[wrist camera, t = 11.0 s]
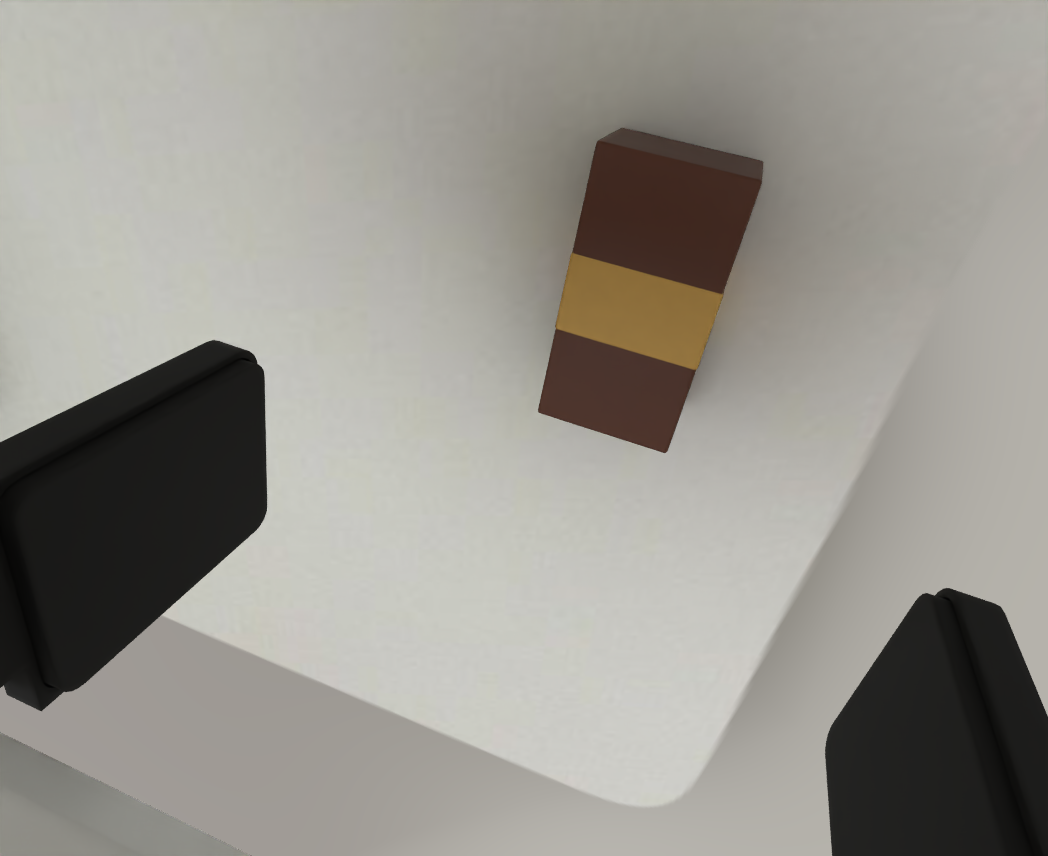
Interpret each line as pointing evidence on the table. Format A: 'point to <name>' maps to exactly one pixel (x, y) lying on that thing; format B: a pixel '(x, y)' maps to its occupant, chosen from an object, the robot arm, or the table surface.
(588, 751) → the table surface
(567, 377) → the chocolate bar
